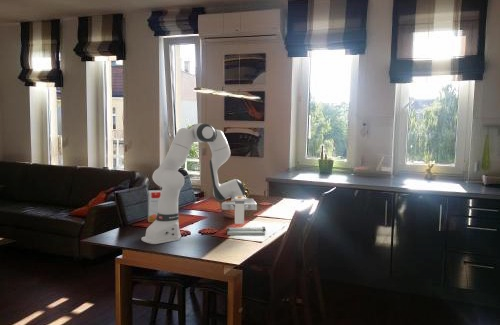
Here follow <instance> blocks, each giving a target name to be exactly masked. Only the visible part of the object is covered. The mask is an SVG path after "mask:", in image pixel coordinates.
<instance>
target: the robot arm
mask: <svg viewBox="0 0 500 325" xmlns="http://www.w3.org/2000/svg"><path fill="white" fill-rule="evenodd" d="M194 143H207V144H208V146H209V148H210V152H211V159H210V160H209V169H210V176H211V177H210V178H211V181H212V189H213V190H212V194H213V197H214V199H215V200H216V201H218V202H222V203H220V205H221V210H224V211H225V210H226V211H228V210H230V211H231V210H232V211H235V197H238V196H241V197H244V212H245V211H257V209H258V204H257V202H256V201H255V200H254V198H250V197H245V194H246V191H245V187H244V185H243V182H242V181H241V180H239V179H237V178H234V179H231V180H228V181H226V182H224V183H223V182H222V183H220V181H219V174H218V170H219V169H220V167H221V166H222V165H223V164H225V163H226V162H227V161H228V160H229V159H230V157H231V149H230V145H229V143H228V140H227V137H226V136H225V134H224V131H222V130H221V129H215V128H214V127H213V126H212V125H211V124H210V123H205V122H204V123H201V122H199V123H195V124H192V125H191V126H190V127H188V128H187V127H182V128H179V129H178V131H177V132H176V134H175V136H174V137H173V140H172V142H171V144H170V147H169V150H168V151H167V153H166V156H165V157H164V159H163V160H162V162H161V164H160V165H159V166H158V168H156V169H155V170H154V171H153V173H152V177H151V178H152V181H153V182H154V183H155V184H156V185H157V186H158V187H161V188H162V189H161V190H162V193H161V196H160V197H159V199H158V214H157V215H156V214H153V215H152V216H153V218H156V220H155V221H154V222H151V224H150V225H149V226H148V227H147V228H146V229H145V230H146V231H145V236H142V237H141V241H142V242H144V243H147V244H150V245H157V244H163V243H164V244H165V243H170V242H174V241H175V242H177V241H180V240H181V237H182V235H181V234H182V233H181V231H180V223H179V221H180V220H179V219H180V212H179V198H180V197H179V196H180V193H181V190H182V188H183V187H184V185H185V180H186V179H185V176H184V175H183V173H181V172H180V171H179V170H180V168H181V167H182V166H183V165H185V163H186V161H187V158H188V156H189V153H190V151H191V148H192V146H193V144H194ZM230 198H231V200H230V201H226V200H227V199H230Z"/></svg>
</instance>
